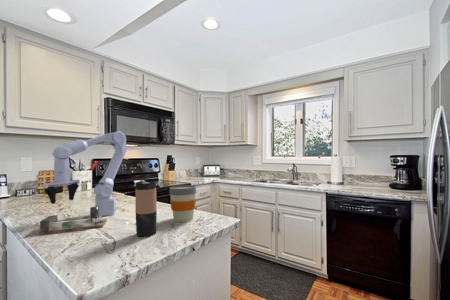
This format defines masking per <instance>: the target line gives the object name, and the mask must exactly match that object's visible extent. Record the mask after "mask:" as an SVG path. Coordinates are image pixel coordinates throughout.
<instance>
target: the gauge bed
mask: <svg viewBox="0 0 450 300" xmlns="http://www.w3.org/2000/svg"><path fill="white" fill-rule="evenodd" d="M58 217H59V215H58V214H55V215H48V216H46V217H45V218H42V219H41V220H40V222H39V235H46V234H48V235H49V234H54V233H55V234H56V233H64V232H72V231H81V230H89V229H98V228H104V226H105V225H106V223H107V221H108V219H107V218H104V219H102V218H101V219H100V221H99V222H96V223H95V218H92V222H90V219H89V218H86V219H85V218H83V219H76V220H75V219H74V220H65V221H59V219H58Z"/></svg>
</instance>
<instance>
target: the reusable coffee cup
mask: <svg viewBox="0 0 450 300" xmlns="http://www.w3.org/2000/svg"><path fill="white" fill-rule="evenodd" d="M196 187H197V186H196V185H190V184H182V185H181V184H179V185H174V186H170V187H169V192H168V193H169V196H170V199H169V202H170V209H171V211H172V217H173V221H174V222H176V223H186V222H190V221H192V220H193V219H194V213H195V208H196V201H197V198H196V193H197V188H196Z"/></svg>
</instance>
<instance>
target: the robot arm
mask: <svg viewBox="0 0 450 300" xmlns="http://www.w3.org/2000/svg"><path fill="white" fill-rule="evenodd" d="M103 142H104V143H109V144H110V145H111V146H112V148H113V149H114V153H113V155H112V157H111V159H110V161H109V164H108V165H107V168H106V170H105V172H104V174H103V176H102V178H101V179H100V180H99V182H98V184H96V185H95V186H94V188H93V193H94V195H95V199H94V200H95V201H94V207H96V206H97V207H99V215H101V217H104V216H106V217H107V216H114V215H115V214H116V212H117V198H116V196H112V194H113V191H114V190H113V188H114V181H115V178H116V176H117V172H118V171H119V169H120V166H121V164H122V162H123V159H124V157H125V155H126V153H127V151H128V149H127V137H126V134H124V133H123V132H122V131H118V130H117V131H114V132H108V133H104V134H103V133H102V134H101V135H97V136H95V137H92V138H89V139H87V140H83V139H75V140H74V141H73V142H70V143H64V144H63V145H60V146H57V147H55V148H54V149H53V150H52V151H53V152H52V156H53V157H54V159H53V160H54V163H53V169H54V170H53V172H54V174H53V175H54V177H53V179H54V181H53V182H47V183H42V189H44V190H43V191H44V192H45V193H46V194H47V197H48V198H49V202H50V204H51V205H55V204H56V203H57V202H56V197H57V196H56V194H57V190H58V188H57V187H63V186H67V191H68V200H69V201H74V198H75V195H76V192H77V190H78V189H79V185H80V183H81V182H80V179H71V178H70V177H71V173H70V172H71V171H70V170H71V169H70V166H71V165H70V157H71V156H75V155H77V154H80V153H82V152H85V151H87V149H88V147H90V146H94V145H98V144H100V143H103Z"/></svg>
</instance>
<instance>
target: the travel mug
mask: <svg viewBox="0 0 450 300" xmlns="http://www.w3.org/2000/svg"><path fill="white" fill-rule="evenodd" d="M134 188H135V194H134V196H135V198H134V199H135V226H136V228H135V229H136V230H135V231H136V236H137V237H138V238H150V237H152V236H155V235H156V234H157V220H158V219H157V213H158V212H157V210H158V209H157V181H156V180H142V181H136V182H135V187H134Z"/></svg>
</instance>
